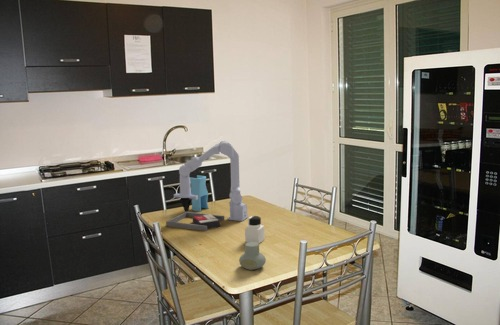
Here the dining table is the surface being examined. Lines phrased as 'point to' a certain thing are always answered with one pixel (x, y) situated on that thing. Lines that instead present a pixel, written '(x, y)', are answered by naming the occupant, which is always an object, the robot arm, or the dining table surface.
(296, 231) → the dining table surface
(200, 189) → the light blue tall block
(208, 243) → the dining table surface
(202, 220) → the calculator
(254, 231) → the medicine bottle
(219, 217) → the grey piece
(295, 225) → the dining table surface
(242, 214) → the robot arm
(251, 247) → the air freshener
